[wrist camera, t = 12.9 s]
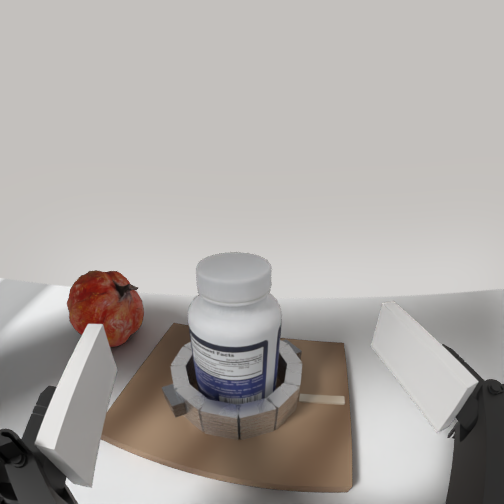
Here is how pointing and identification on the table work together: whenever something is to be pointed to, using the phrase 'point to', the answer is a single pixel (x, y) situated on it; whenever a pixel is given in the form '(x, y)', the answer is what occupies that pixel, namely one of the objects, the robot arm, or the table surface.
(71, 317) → the pomegranate
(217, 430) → the ring
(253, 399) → the pill bottle
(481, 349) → the table surface
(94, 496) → the table surface
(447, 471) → the table surface
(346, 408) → the base plate
